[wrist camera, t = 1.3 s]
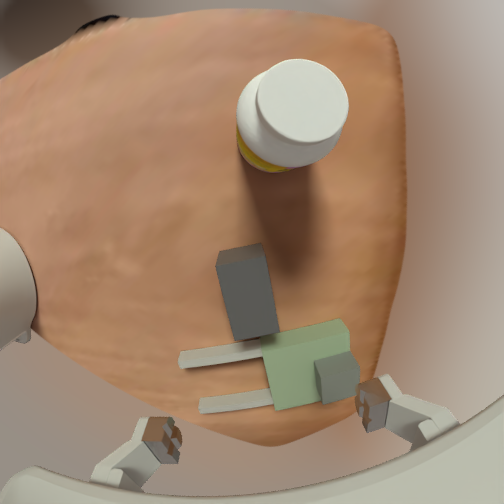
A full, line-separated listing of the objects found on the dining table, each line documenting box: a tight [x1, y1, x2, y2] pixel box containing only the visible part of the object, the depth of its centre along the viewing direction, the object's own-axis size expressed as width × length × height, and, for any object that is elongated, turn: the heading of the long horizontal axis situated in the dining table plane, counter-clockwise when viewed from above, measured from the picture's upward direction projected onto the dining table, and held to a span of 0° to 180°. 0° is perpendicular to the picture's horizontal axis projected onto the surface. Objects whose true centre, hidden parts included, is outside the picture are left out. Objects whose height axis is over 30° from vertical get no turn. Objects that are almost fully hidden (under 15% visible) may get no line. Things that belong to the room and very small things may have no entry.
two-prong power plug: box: [178, 318, 360, 414], centre depth 27 cm, size 18×9×6 cm, turn 101°
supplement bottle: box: [236, 59, 349, 173], centre depth 18 cm, size 7×7×13 cm
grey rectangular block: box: [216, 243, 280, 341], centre depth 25 cm, size 7×4×5 cm, turn 11°
